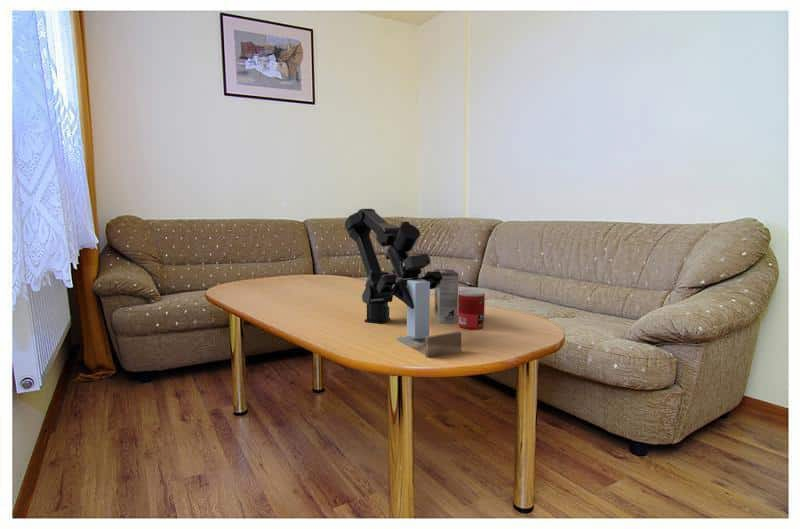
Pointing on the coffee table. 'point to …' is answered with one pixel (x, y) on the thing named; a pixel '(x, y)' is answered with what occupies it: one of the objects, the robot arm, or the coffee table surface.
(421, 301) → the block
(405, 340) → the pad
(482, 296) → the canned food
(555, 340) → the coffee table surface
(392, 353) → the coffee table surface
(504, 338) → the coffee table surface
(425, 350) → the brown slab
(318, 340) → the coffee table surface
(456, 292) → the coffee box
